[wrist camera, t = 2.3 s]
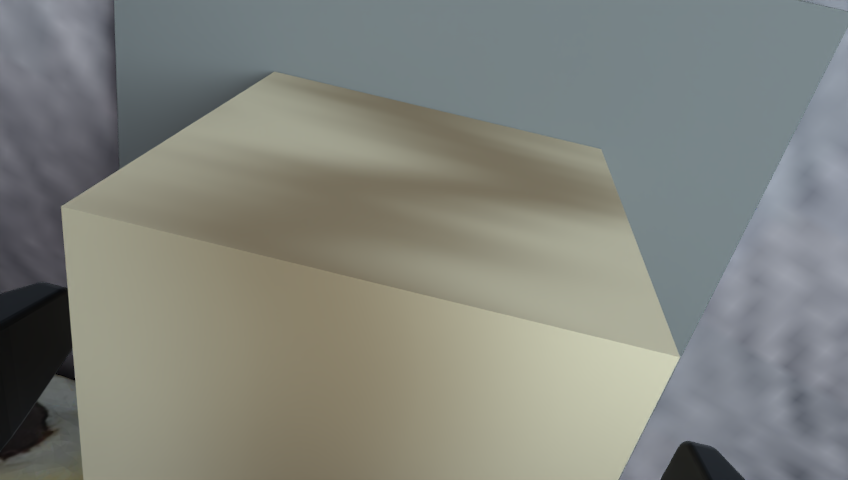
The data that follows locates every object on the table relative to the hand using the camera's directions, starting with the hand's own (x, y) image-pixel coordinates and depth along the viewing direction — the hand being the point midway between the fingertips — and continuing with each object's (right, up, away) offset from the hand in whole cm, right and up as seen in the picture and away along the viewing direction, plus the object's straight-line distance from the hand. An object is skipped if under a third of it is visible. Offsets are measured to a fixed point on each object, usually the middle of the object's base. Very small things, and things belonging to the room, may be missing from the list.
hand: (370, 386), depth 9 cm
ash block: (0, +2, +4) cm, 4 cm away
